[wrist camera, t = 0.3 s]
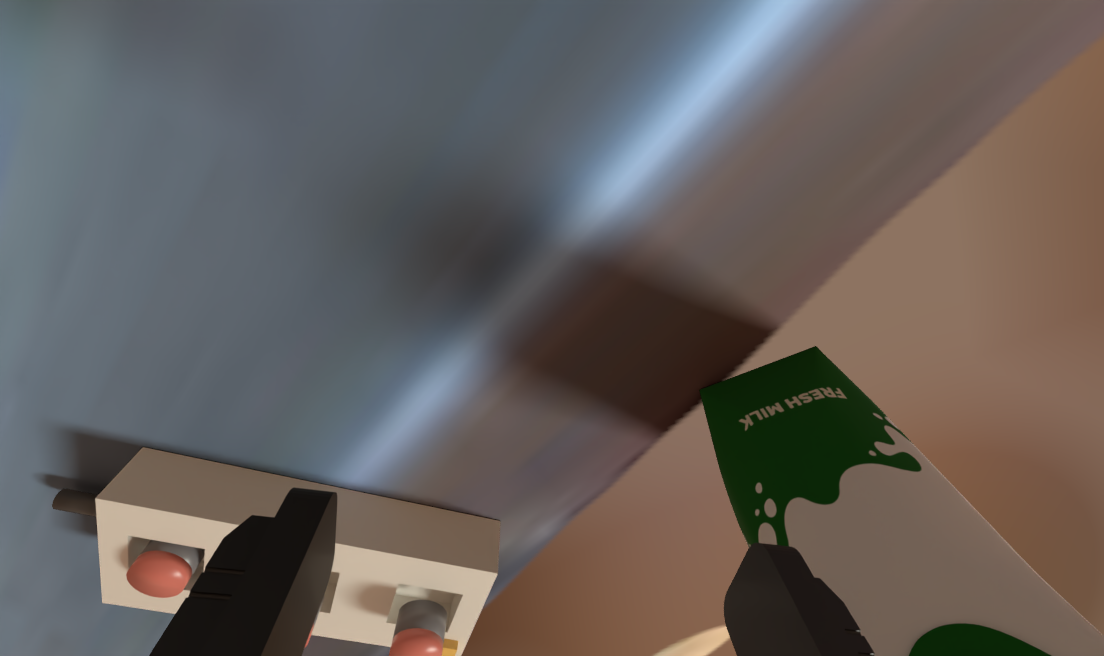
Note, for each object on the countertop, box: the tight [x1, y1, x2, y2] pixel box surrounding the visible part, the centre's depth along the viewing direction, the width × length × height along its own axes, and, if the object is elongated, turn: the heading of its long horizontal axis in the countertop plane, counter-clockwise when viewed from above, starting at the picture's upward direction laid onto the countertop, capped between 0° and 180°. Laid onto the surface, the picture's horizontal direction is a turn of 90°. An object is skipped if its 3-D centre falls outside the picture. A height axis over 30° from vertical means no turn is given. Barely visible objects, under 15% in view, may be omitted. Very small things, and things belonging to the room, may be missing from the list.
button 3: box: [389, 600, 447, 656], centre depth 32 cm, size 3×3×3 cm
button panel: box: [52, 447, 500, 656], centre depth 33 cm, size 9×26×5 cm, turn 71°
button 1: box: [126, 540, 205, 598], centre depth 31 cm, size 3×3×3 cm
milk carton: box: [699, 346, 1104, 656], centre depth 24 cm, size 9×9×20 cm
